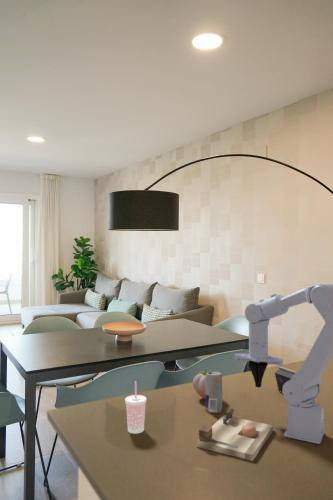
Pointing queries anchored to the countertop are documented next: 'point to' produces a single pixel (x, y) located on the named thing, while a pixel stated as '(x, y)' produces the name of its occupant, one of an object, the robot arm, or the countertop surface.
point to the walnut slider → (205, 433)
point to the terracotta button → (249, 431)
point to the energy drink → (213, 391)
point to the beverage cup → (135, 412)
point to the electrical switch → (283, 376)
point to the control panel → (236, 438)
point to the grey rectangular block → (229, 414)
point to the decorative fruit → (200, 383)
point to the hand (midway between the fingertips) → (258, 386)
